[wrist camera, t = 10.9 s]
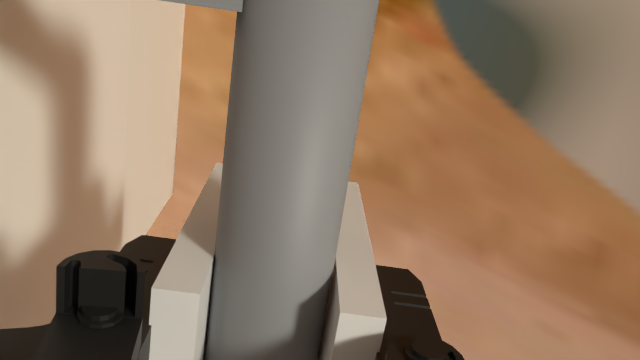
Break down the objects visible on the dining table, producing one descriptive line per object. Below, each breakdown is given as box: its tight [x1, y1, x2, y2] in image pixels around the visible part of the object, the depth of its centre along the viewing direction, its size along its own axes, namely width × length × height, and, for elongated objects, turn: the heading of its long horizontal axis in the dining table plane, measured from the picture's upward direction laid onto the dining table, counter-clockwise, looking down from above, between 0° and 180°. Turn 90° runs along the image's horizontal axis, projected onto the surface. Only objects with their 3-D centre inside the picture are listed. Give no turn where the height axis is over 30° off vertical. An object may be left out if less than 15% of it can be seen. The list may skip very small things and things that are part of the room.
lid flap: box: [0, 0, 379, 360], centre depth 17 cm, size 17×16×8 cm
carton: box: [122, 0, 185, 248], centre depth 30 cm, size 18×16×12 cm
